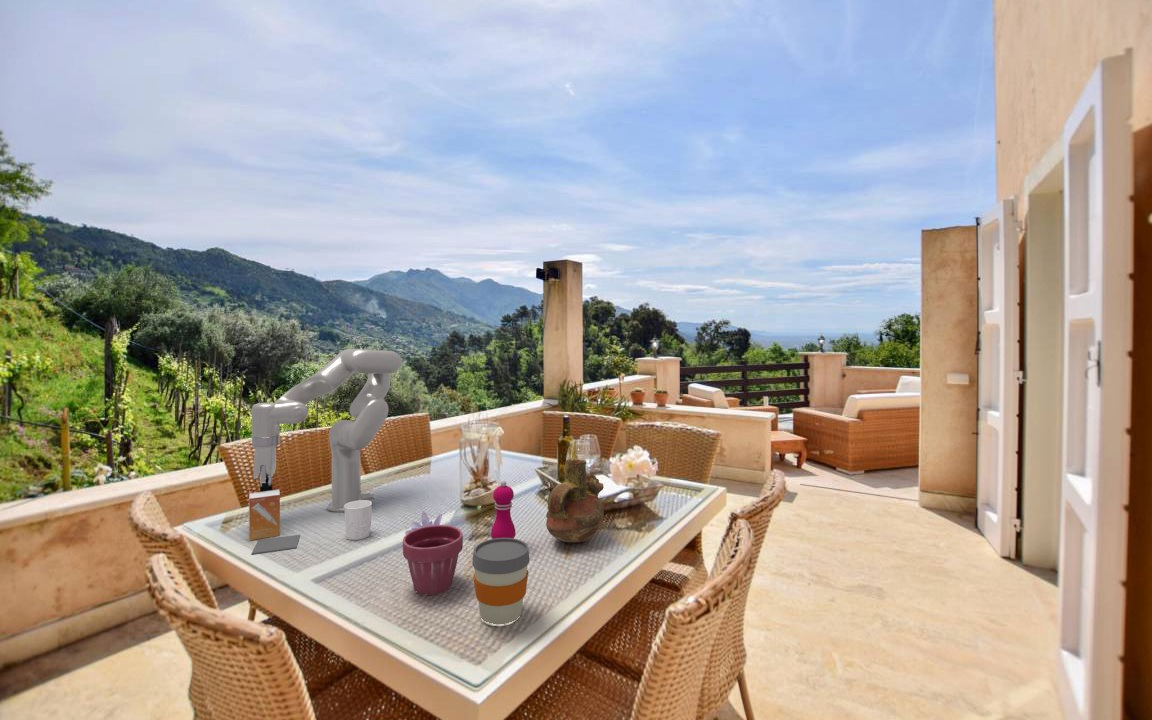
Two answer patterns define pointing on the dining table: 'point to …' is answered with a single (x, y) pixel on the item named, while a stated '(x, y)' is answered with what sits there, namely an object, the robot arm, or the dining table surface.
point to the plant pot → (432, 557)
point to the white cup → (358, 519)
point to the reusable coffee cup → (500, 578)
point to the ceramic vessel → (575, 505)
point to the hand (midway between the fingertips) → (266, 497)
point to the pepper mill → (503, 512)
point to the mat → (276, 544)
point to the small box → (264, 514)
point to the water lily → (424, 522)
